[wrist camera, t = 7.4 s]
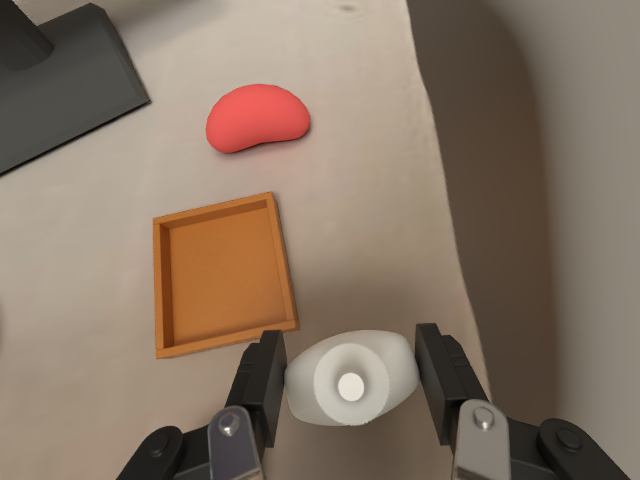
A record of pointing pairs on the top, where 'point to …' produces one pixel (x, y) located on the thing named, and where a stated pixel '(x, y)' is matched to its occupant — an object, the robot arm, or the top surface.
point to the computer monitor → (59, 79)
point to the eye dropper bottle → (351, 378)
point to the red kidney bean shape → (255, 118)
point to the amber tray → (220, 276)
